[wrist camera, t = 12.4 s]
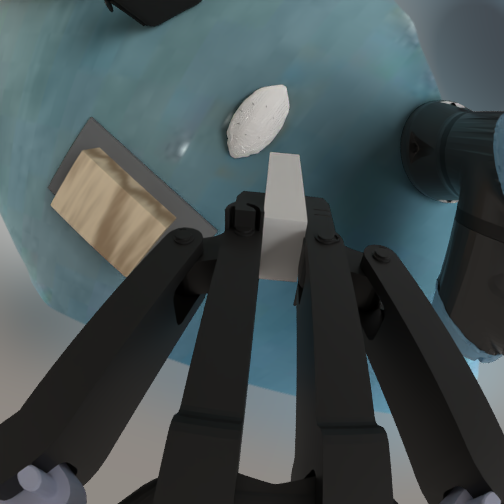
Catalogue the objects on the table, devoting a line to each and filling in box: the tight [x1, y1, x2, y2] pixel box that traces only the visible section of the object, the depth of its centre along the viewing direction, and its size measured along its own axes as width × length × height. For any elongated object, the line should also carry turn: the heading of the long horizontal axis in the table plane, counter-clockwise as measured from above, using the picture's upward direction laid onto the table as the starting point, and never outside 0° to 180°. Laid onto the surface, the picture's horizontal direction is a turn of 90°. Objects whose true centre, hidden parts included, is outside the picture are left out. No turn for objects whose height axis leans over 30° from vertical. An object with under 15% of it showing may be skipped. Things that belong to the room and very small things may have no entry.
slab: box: [51, 148, 176, 277], centre depth 43 cm, size 5×10×16 cm
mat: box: [48, 117, 218, 269], centre depth 45 cm, size 26×14×1 cm, turn 47°
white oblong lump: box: [227, 85, 290, 158], centre depth 38 cm, size 12×6×6 cm, turn 145°
